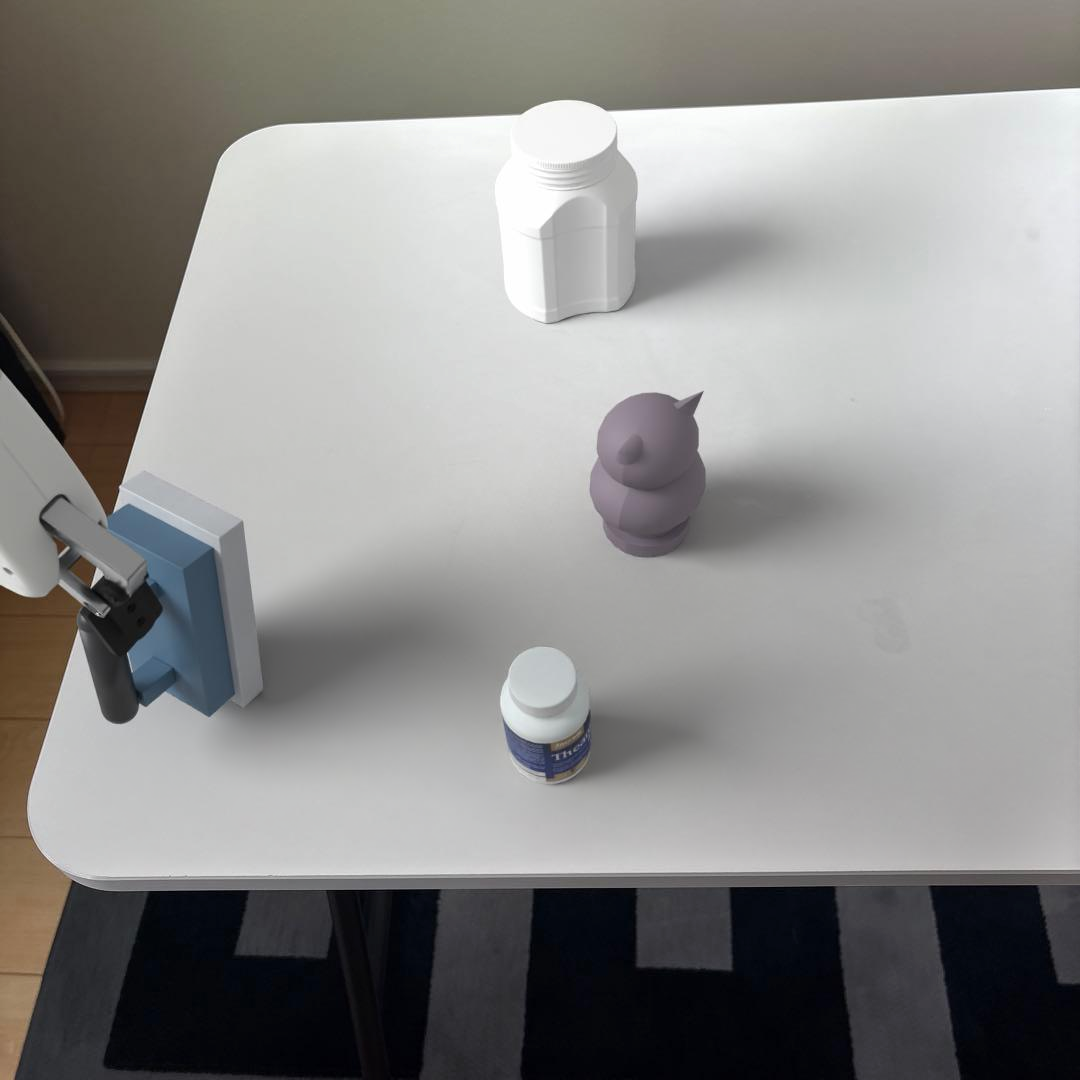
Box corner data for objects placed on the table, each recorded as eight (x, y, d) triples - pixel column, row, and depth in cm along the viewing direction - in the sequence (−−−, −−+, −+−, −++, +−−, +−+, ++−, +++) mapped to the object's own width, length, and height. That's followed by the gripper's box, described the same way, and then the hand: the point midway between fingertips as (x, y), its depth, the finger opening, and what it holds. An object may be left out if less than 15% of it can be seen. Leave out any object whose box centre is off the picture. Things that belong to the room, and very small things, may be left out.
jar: (619, 235, 97) (620, 83, 85) (647, 305, 92) (653, 153, 79) (496, 258, 96) (479, 108, 84) (516, 330, 91) (502, 181, 79)
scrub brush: (143, 469, 65) (16, 550, 59) (243, 520, 62) (121, 610, 56) (176, 639, 75) (70, 724, 68) (264, 689, 72) (162, 782, 66)
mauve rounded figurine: (648, 459, 82) (653, 346, 72) (725, 518, 78) (741, 407, 69) (567, 522, 79) (560, 413, 69) (643, 586, 75) (647, 481, 66)
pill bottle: (564, 801, 66) (558, 735, 59) (493, 761, 68) (477, 691, 60) (607, 733, 69) (606, 660, 61) (537, 695, 71) (527, 620, 63)
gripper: (-352, 337, 41) (-106, 581, 55) (-41, 502, 35) (144, 727, 49) (-190, 223, 44) (2, 480, 58) (115, 356, 39) (247, 605, 53)
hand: (67, 593), depth 54 cm, fingers open, 9 cm apart
